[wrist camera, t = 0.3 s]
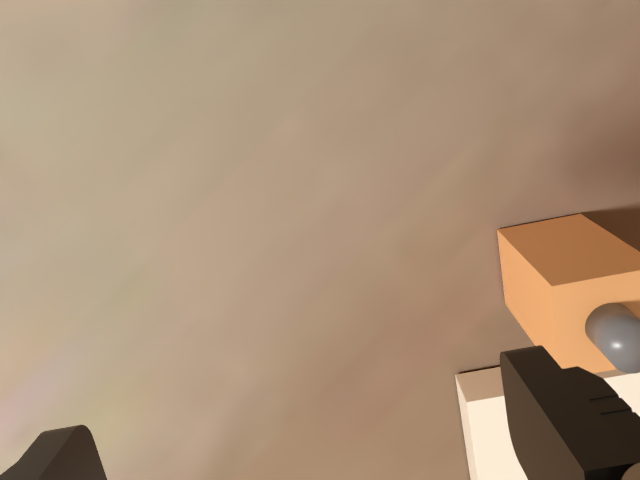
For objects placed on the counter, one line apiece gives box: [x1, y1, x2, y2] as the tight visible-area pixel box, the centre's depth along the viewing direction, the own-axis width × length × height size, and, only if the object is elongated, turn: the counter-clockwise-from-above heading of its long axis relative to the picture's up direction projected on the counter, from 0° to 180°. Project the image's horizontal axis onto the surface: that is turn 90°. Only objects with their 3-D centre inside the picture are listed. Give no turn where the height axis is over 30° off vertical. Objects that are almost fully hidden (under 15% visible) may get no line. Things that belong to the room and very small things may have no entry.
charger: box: [497, 214, 640, 374], centre depth 25 cm, size 4×4×9 cm
